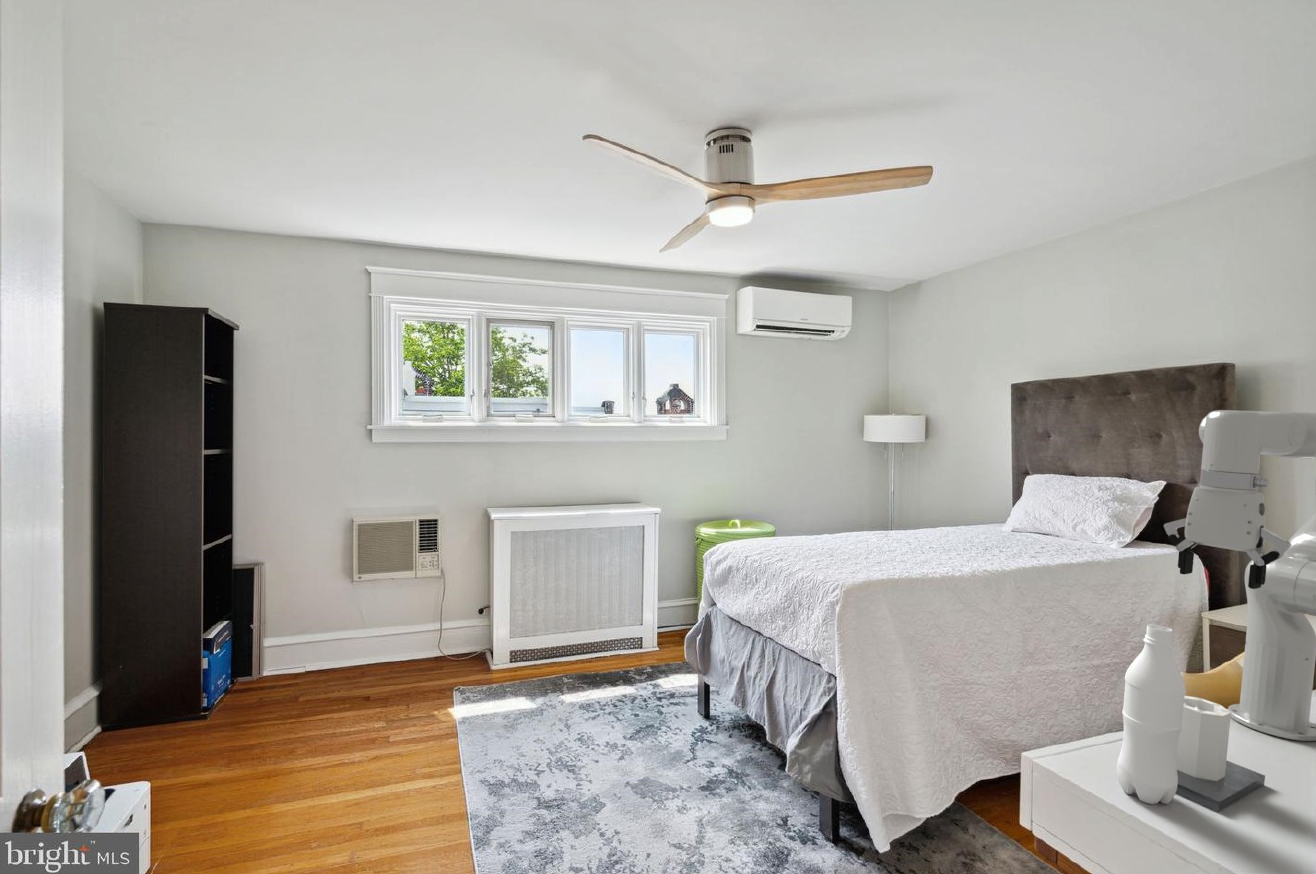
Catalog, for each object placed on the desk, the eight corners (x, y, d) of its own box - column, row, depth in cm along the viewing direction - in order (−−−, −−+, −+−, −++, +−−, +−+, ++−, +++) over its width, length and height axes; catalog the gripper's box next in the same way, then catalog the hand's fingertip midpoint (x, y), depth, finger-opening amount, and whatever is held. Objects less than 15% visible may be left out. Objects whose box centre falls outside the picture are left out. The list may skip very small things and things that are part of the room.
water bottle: (1186, 813, 93) (1202, 639, 92) (1129, 805, 95) (1144, 633, 94) (1159, 785, 100) (1173, 623, 99) (1106, 777, 102) (1120, 617, 101)
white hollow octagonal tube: (1179, 753, 108) (1185, 692, 107) (1230, 773, 102) (1236, 710, 102) (1159, 762, 104) (1165, 700, 104) (1211, 784, 99) (1217, 718, 98)
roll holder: (1172, 748, 112) (1178, 683, 112) (1264, 785, 102) (1271, 714, 102) (1124, 770, 104) (1130, 700, 104) (1218, 812, 94) (1225, 735, 94)
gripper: (1303, 488, 108) (1293, 591, 109) (1179, 476, 123) (1171, 567, 124) (1285, 489, 105) (1275, 596, 105) (1159, 476, 120) (1151, 570, 120)
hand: (1219, 580), depth 115 cm, fingers open, 9 cm apart
